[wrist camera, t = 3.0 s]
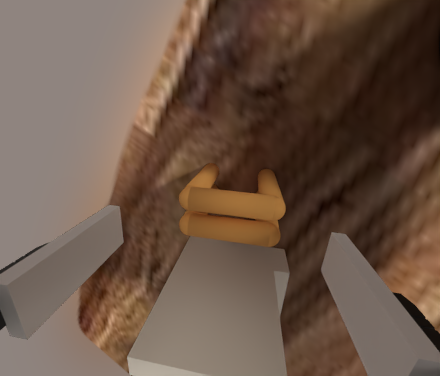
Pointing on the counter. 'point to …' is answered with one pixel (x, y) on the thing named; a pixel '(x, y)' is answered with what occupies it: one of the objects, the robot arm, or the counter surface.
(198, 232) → the cord hank
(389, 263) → the counter surface
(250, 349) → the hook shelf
